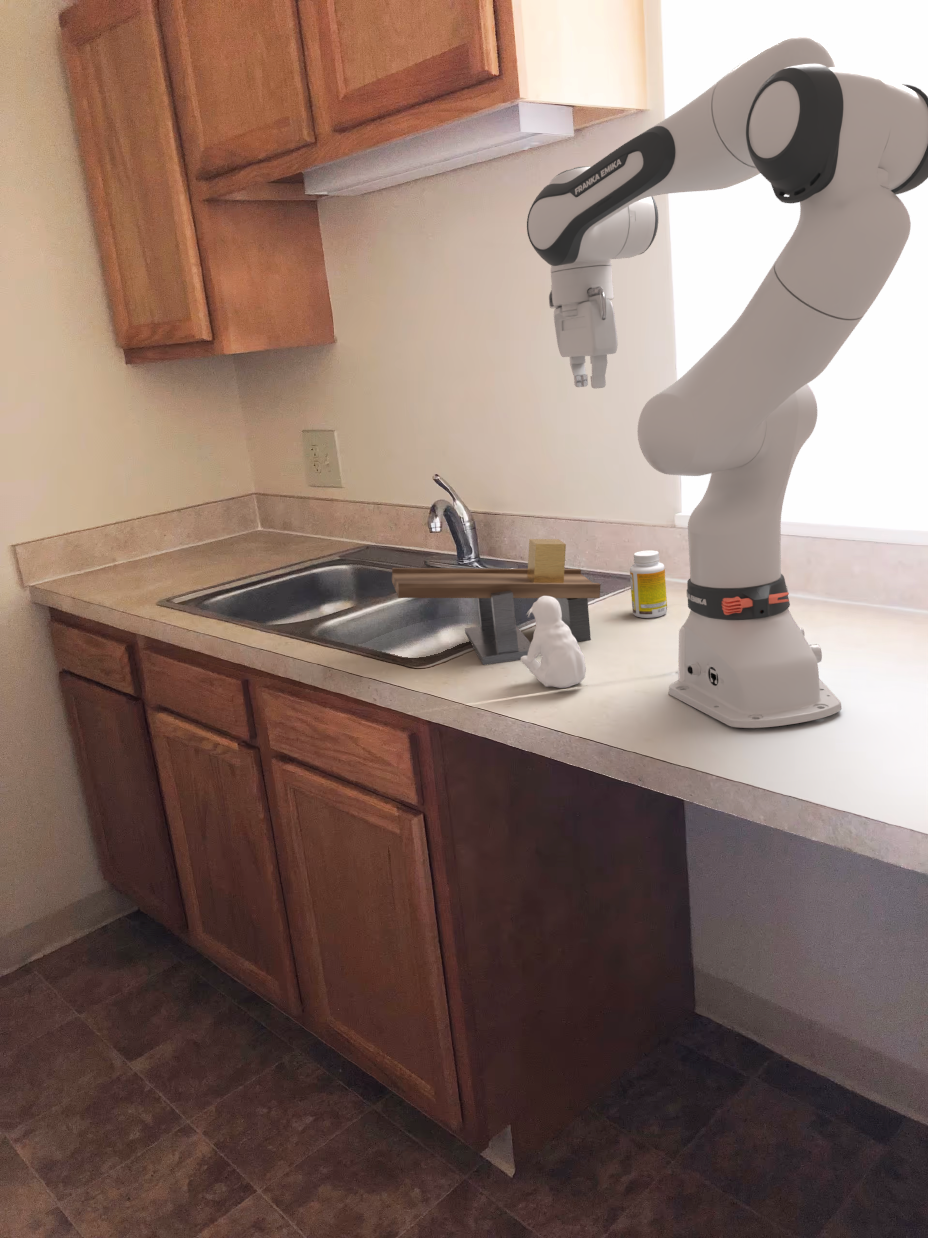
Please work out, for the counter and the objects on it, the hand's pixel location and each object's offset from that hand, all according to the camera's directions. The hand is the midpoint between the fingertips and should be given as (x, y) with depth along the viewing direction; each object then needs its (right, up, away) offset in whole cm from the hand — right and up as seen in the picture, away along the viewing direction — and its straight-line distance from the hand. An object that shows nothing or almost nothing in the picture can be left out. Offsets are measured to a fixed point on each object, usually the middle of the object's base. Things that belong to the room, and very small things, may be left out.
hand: (589, 387), depth 150 cm
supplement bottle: (+12, -34, +13) cm, 38 cm away
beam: (-14, -30, +3) cm, 33 cm away
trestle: (-9, -38, +6) cm, 39 cm away
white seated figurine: (-6, -43, -14) cm, 46 cm away
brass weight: (-6, -29, +4) cm, 30 cm away
